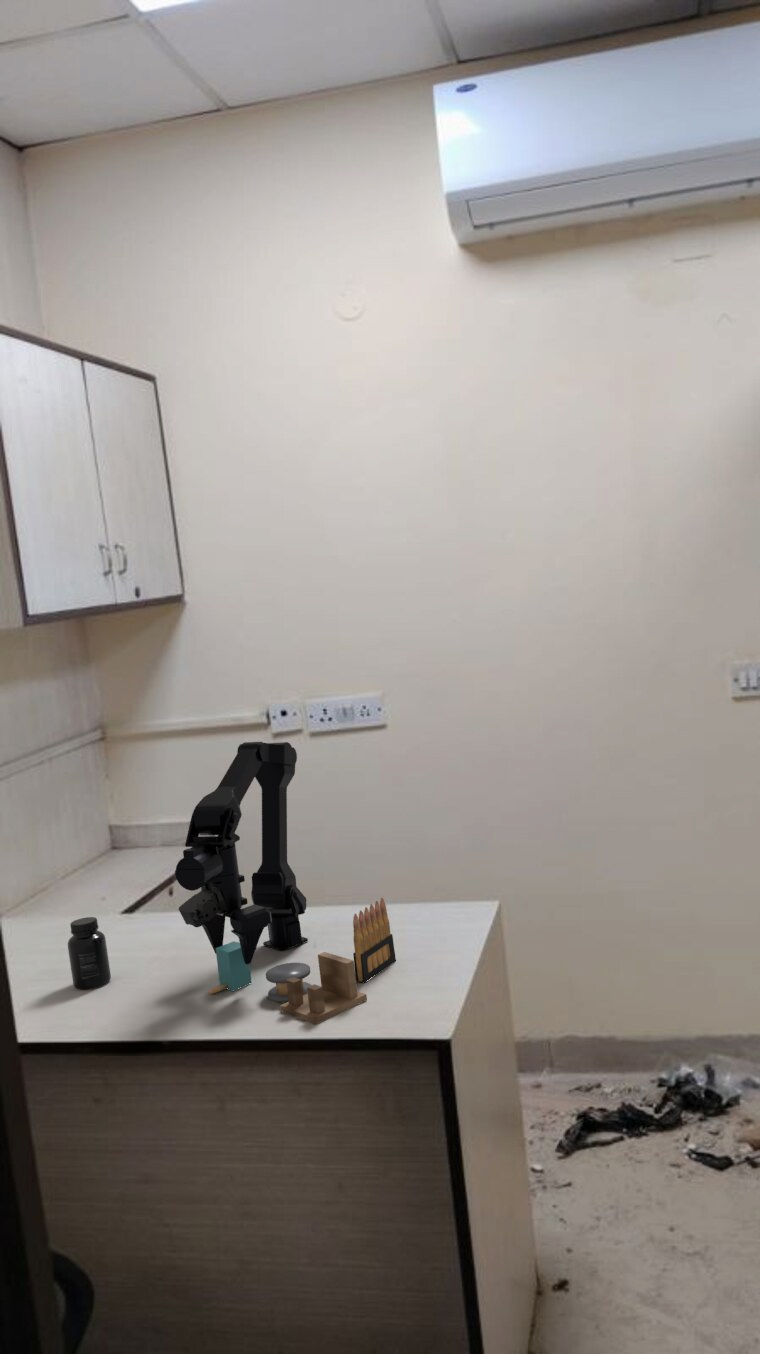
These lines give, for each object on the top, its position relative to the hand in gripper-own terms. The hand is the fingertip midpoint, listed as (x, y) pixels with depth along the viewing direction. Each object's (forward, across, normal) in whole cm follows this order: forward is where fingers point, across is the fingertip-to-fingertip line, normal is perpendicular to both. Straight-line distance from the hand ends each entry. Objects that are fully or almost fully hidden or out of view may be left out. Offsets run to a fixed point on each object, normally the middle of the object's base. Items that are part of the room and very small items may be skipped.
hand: (233, 958), depth 183 cm
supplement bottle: (+5, -25, -15) cm, 30 cm away
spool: (+5, +12, +3) cm, 13 cm away
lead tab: (+5, 0, -2) cm, 5 cm away
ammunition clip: (+5, +17, +18) cm, 25 cm away
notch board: (+5, +21, +3) cm, 22 cm away
